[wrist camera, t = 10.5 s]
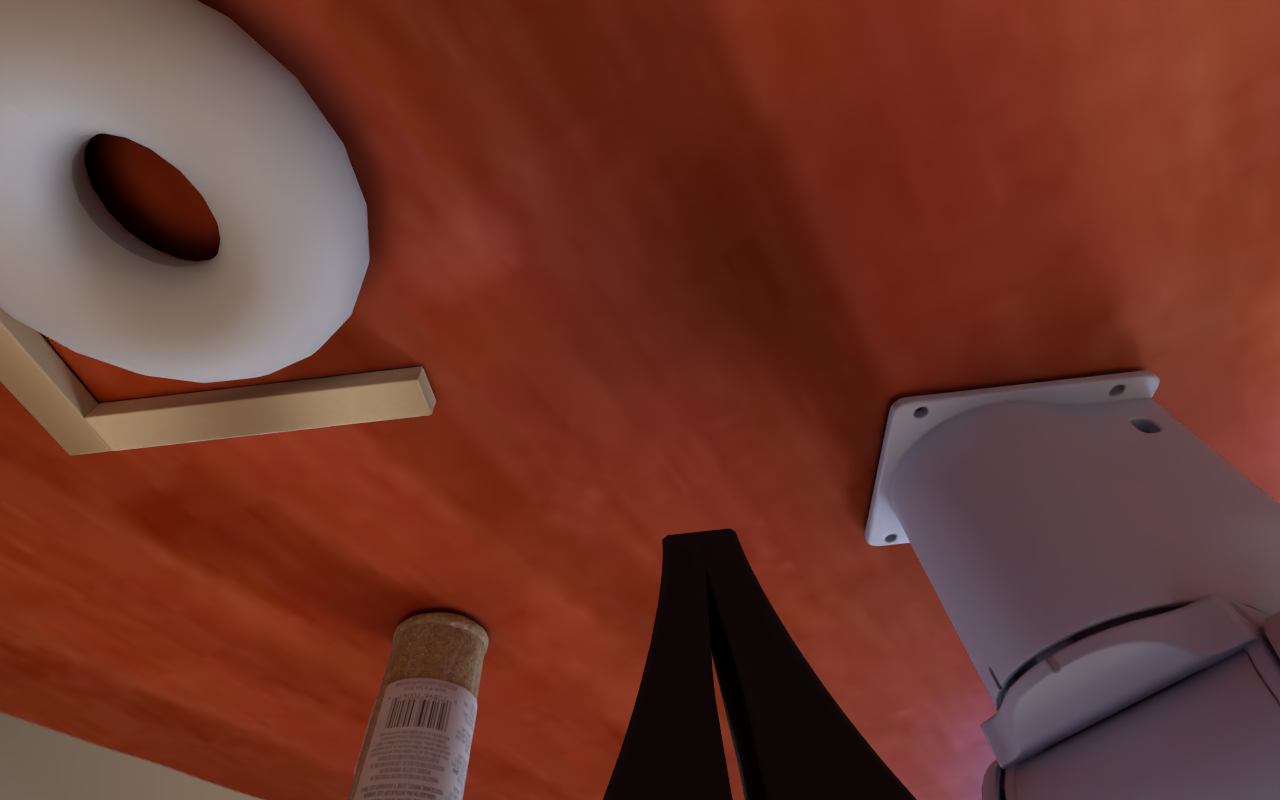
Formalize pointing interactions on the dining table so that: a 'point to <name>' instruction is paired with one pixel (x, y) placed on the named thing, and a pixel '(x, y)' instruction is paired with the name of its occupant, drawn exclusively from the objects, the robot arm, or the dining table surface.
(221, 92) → the donut
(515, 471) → the dining table surface
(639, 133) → the dining table surface
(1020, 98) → the dining table surface
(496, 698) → the dining table surface
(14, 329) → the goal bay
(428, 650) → the sprinkles bottle
